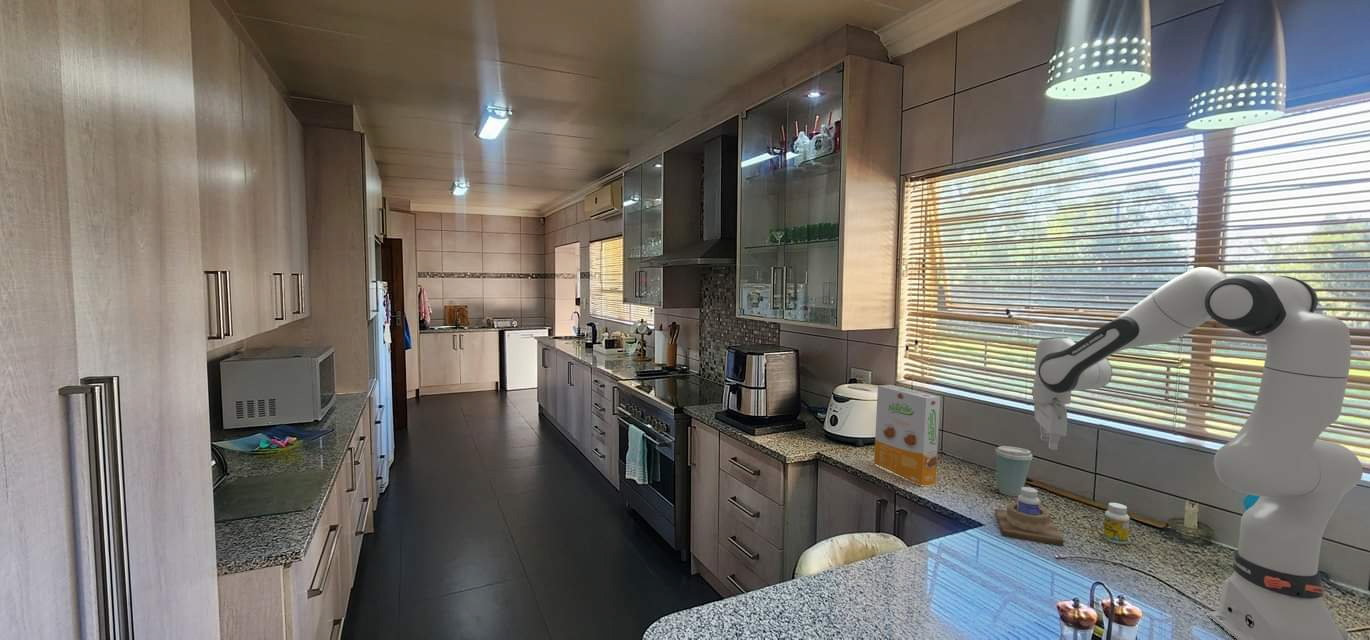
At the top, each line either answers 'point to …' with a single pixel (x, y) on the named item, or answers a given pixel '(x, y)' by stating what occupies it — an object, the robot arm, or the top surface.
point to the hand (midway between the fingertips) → (1048, 444)
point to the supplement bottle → (1116, 524)
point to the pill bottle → (1028, 501)
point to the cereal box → (907, 433)
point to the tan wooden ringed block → (1028, 525)
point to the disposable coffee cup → (1012, 469)
